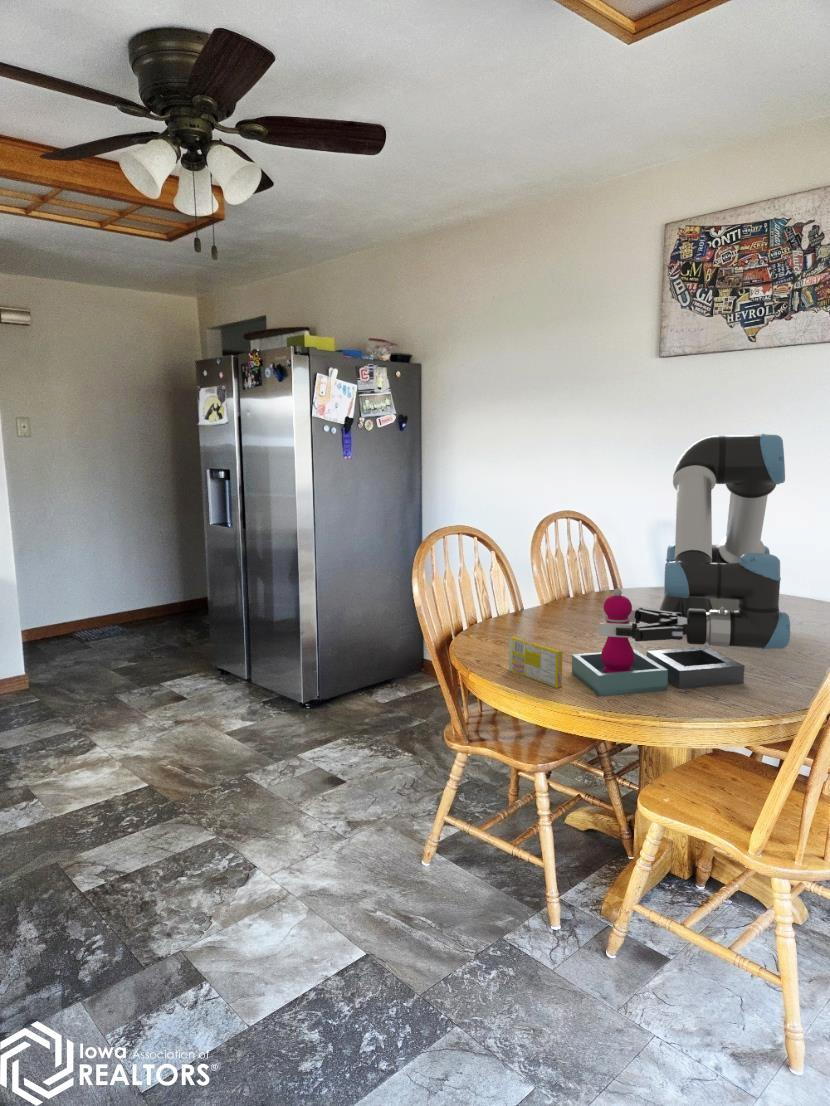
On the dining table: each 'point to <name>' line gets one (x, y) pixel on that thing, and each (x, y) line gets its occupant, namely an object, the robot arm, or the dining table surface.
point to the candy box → (535, 661)
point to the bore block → (698, 667)
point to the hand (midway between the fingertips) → (602, 621)
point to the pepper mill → (617, 649)
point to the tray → (619, 675)
